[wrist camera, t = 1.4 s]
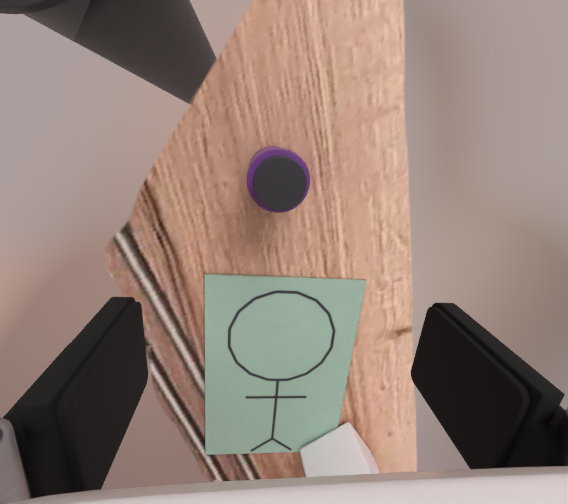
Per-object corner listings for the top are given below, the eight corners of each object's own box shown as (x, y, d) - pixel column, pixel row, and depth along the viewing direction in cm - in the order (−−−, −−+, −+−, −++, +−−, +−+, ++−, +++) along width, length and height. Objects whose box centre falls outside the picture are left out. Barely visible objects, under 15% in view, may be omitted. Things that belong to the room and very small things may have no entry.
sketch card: (205, 273, 29) (204, 275, 29) (365, 279, 31) (366, 281, 31) (205, 451, 37) (205, 455, 37) (332, 448, 39) (333, 451, 39)
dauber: (240, 176, 26) (233, 193, 18) (265, 135, 26) (271, 134, 17) (277, 201, 28) (288, 229, 19) (303, 164, 27) (326, 175, 18)
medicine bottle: (323, 476, 40) (359, 605, 29) (298, 448, 38) (327, 578, 27) (370, 450, 40) (424, 570, 29) (348, 419, 37) (399, 538, 26)
